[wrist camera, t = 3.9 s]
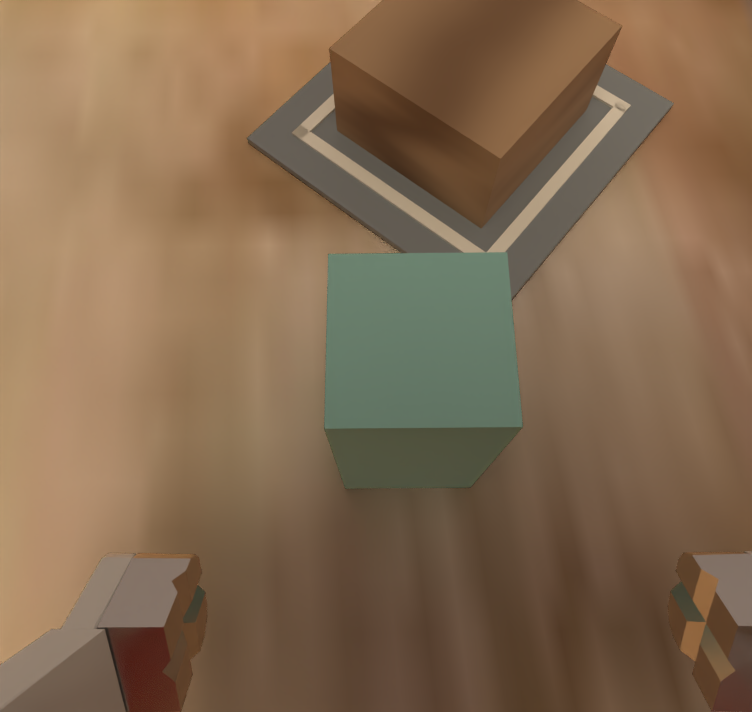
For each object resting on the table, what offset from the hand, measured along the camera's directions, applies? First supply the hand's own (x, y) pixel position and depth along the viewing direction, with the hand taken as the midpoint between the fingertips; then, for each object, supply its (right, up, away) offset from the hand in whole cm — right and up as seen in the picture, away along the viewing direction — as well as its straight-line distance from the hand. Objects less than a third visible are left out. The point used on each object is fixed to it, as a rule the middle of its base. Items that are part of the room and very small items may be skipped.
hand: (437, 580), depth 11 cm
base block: (+2, +13, +14) cm, 19 cm away
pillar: (0, +1, +10) cm, 10 cm away
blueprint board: (+2, +13, +14) cm, 20 cm away
